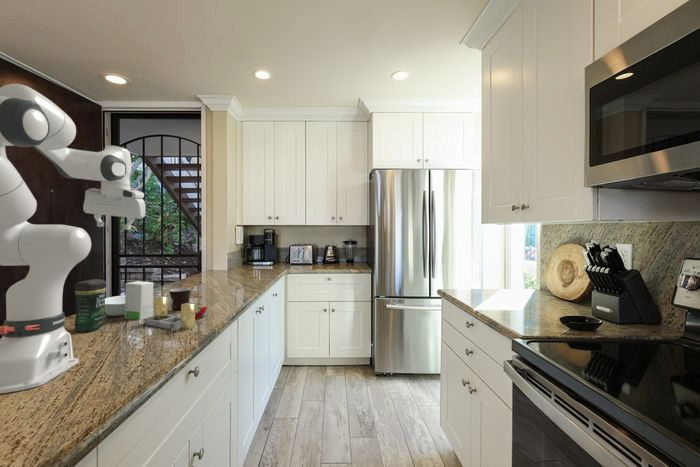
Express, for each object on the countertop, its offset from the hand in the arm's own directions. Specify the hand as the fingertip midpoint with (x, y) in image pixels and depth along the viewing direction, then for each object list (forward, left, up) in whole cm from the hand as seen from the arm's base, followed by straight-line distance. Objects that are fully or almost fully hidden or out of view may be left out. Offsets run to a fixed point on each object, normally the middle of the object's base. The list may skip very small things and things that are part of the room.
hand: (114, 227), depth 125 cm
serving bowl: (+25, +3, -39) cm, 46 cm away
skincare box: (+12, -5, -38) cm, 41 cm away
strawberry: (+3, -29, -38) cm, 48 cm away
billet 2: (-12, -26, -38) cm, 48 cm away
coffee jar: (+4, +9, -38) cm, 40 cm away
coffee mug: (+20, -19, -38) cm, 47 cm away
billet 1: (-1, -15, -37) cm, 40 cm away
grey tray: (-4, -18, -38) cm, 42 cm away
